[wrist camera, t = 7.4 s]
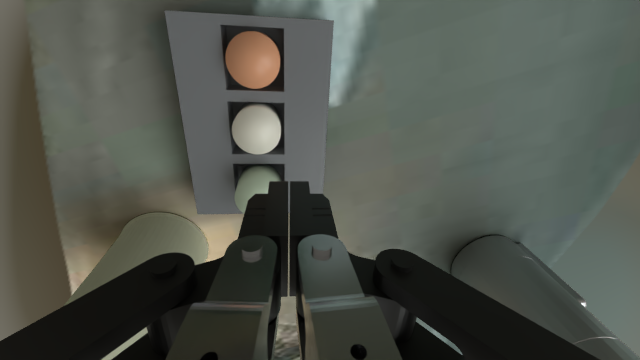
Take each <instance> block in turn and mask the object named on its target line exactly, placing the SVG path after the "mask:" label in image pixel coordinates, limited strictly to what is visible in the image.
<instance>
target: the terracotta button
mask: <svg viewBox="0 0 640 360" xmlns="http://www.w3.org/2000/svg"><path fill="white" fill-rule="evenodd" d="M225 57H226V65H227V68H228V71H229V73H230V74H231V76H232V77H233V78H234V79H235V80H236V81H237V82H238V83H239V84H241V85H243V86H245V87H247V88H252V89H258V88H263V87H266V86H268V85H269V84H270V83H272V82H273V81H274V79H275V78H276V77H277V75H278V72H279V69H280V52H279V49H278V47H277V45H276V43H275V42H274V41H273V39H272V38H271V37H269V36H268V35H266V34H264V33H262V32H259V31H246V32H242V33H240V34H238V35H236V36H235V37H234V38H233V39H232V40H231V41H230V43H229V45H228V47H227V50H226V56H225Z"/></svg>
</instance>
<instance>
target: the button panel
mask: <svg viewBox="0 0 640 360" xmlns="http://www.w3.org/2000/svg"><path fill="white" fill-rule="evenodd" d="M164 11H165V17H166V23H167V29H168V35H169V41H170V48H171V54H172V60H173V66H174V72H175V78H176V84H177V91H178V97H179V103H180V109H181V115H182V121H183V127H184V133H185V140H186V146H187V152H188V158H189V164H190V170H191V176H192V183H193V189H194V195H195V201H196V207H197V213H198V214H242V212H241V211H240V210H239V209H238V207H237V205H236V203H235V192H236V188H237V185H238V181H239V178H240V175H241V173H242V172H243V170H244V169H246V168H247V167H249V166H251V165H253V164H266V165H269V166H271V167H273V168H274V169H275V170H276V171H277V172H278V173H279V175H280V177H281V181H288V213H290V181H309V188H310V194H323V184H324V168H325V152H326V136H327V119H328V103H329V87H330V71H331V55H332V39H333V23H334V21H331V20H314V19H298V18H282V17H265V16H249V15H233V14H216V13H200V12H184V11H167V10H164ZM246 31H259V32H262V33H264V34H266V35H268V36H269V37H271V38H272V39H273V41H274V42H275V43H276V45H277V47H278V49H279V52H280V69H279V72H278V75H277V77H276V78H275V79H274V81H273V82H272V83H270V84H269V85H268V86H266V87H263V88H258V89H252V88H247V87H245V86H243V85H241V84H239V83H238V82H237V81H236V80H235V79H234V78H233V77H232V76H231V74H230V73H229V71H228V68H227V65H226V57H225V56H226V50H227V47H228V45H229V43H230V41H231V40H232V39H233V38H234V37H235V36H236V35H238V34H240V33H242V32H246ZM248 102H268V103H270V104H271V105H273V106H274V107H275V108H276V109H277V111H278V113H279V115H280V118H281V137H280V140H279V142H278V144H277V146H276V147H275V148H274V149H273V150H271V151H270V152H268V153H265V154H251V153H248V152H246V151H244V150H242V149H241V148H240V147H239V146H238V145H237V144H236V142H235V141H234V138H233V135H232V125H233V122H234V119H235V118H236V116H237V114H238V112H239V110H240V109H241V107H242V106H243V105H245V104H246V103H248Z"/></svg>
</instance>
